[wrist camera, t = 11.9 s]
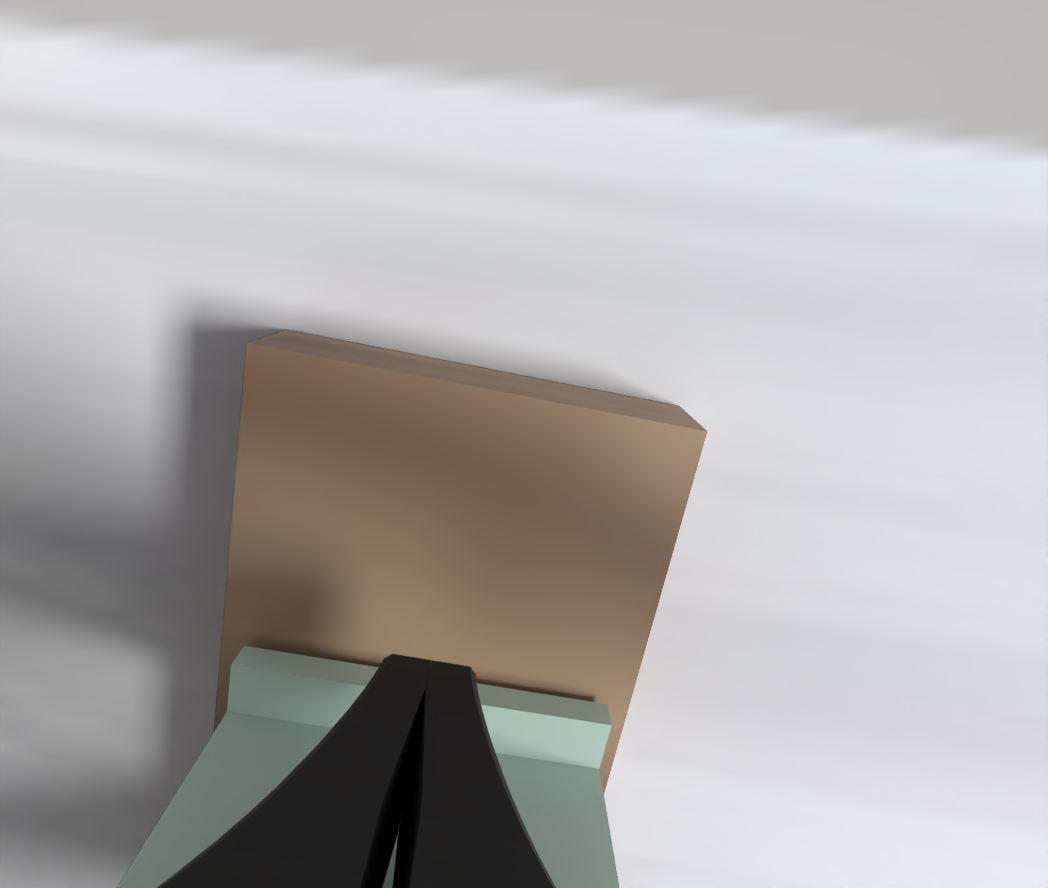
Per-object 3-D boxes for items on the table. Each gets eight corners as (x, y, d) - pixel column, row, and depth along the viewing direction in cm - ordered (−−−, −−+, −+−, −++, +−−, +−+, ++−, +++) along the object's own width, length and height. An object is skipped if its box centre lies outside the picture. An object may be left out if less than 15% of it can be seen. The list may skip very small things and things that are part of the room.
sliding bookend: (579, 806, 13) (627, 1217, 8) (233, 754, 13) (11, 1152, 7) (607, 704, 13) (684, 1071, 7) (244, 645, 12) (8, 988, 7)
